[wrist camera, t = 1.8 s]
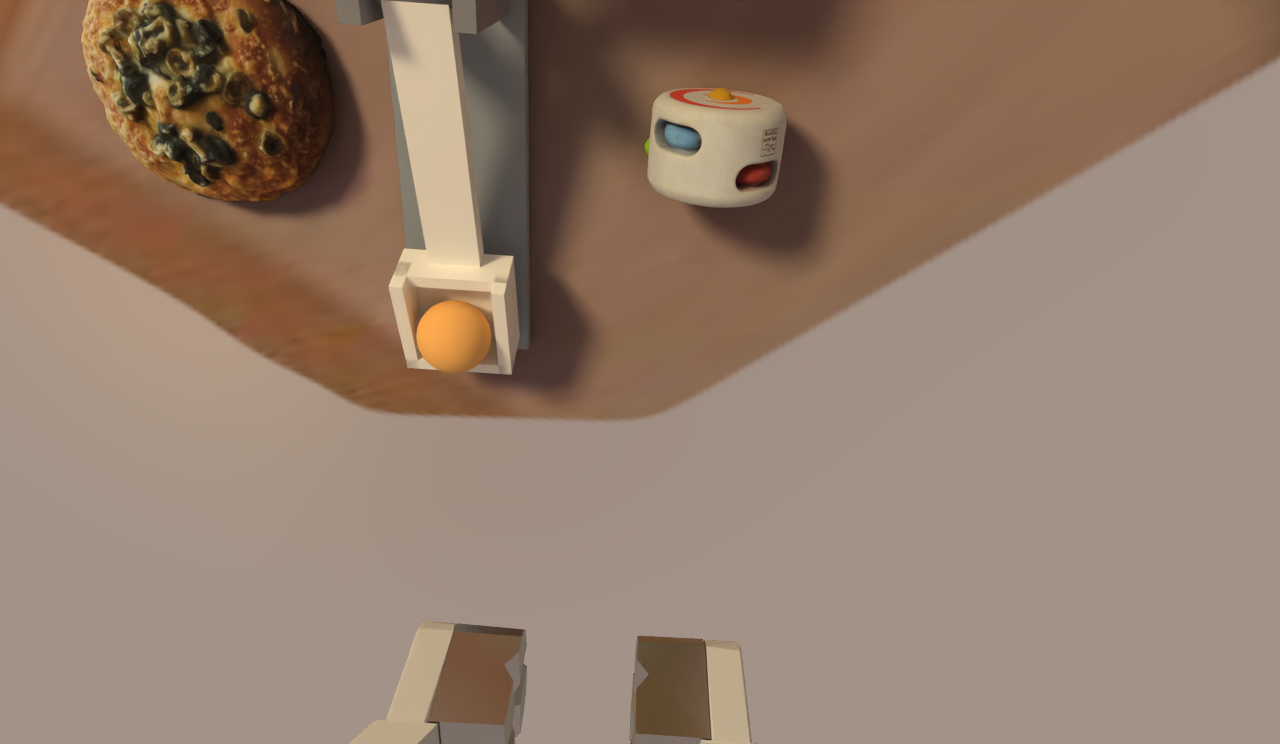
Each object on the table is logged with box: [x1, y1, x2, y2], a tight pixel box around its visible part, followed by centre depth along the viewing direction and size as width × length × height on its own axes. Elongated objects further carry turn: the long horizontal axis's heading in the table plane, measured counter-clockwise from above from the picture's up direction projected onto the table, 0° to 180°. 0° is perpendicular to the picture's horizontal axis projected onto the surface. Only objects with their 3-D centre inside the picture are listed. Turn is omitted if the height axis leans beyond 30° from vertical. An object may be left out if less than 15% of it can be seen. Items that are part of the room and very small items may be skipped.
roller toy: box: [644, 88, 787, 208], centre depth 33 cm, size 4×6×6 cm
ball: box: [416, 300, 491, 373], centre depth 37 cm, size 4×4×4 cm
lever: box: [375, 0, 520, 375], centre depth 30 cm, size 26×13×3 cm, turn 176°
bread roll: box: [81, 0, 334, 202], centre depth 34 cm, size 11×11×5 cm
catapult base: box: [335, 0, 530, 350], centre depth 33 cm, size 20×6×8 cm, turn 176°
